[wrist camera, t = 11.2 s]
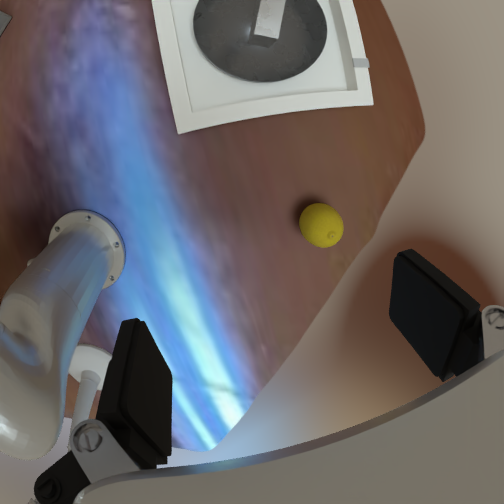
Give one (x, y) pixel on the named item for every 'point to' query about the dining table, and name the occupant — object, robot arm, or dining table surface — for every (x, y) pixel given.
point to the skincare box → (4, 21)
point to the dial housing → (258, 94)
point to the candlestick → (87, 378)
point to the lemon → (321, 225)
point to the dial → (260, 37)
